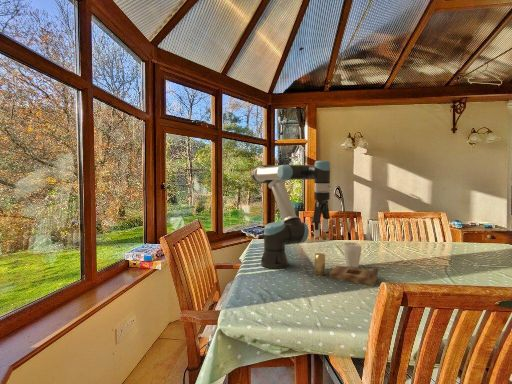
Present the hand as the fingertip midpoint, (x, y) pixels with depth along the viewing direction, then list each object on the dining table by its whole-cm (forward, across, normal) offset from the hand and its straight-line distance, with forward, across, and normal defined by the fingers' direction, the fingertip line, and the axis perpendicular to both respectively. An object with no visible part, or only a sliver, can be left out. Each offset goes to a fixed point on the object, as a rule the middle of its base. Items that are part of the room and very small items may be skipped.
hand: (321, 233), depth 145 cm
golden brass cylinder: (+20, -1, 0) cm, 21 cm away
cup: (+21, +21, -12) cm, 32 cm away
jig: (+20, +2, -16) cm, 26 cm away
